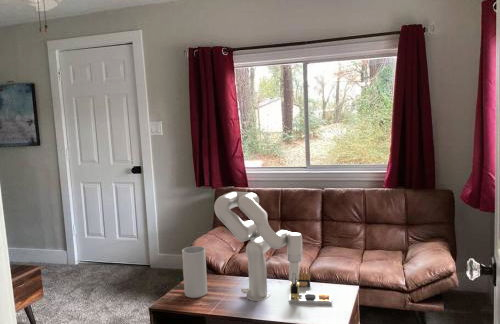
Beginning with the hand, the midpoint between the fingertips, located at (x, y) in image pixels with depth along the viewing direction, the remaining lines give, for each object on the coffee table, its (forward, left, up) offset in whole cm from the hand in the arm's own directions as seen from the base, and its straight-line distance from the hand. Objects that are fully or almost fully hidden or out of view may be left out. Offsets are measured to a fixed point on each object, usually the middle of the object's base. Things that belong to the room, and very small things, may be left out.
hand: (294, 291), depth 220 cm
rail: (+8, 0, -6) cm, 10 cm away
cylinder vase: (-55, +8, -6) cm, 56 cm away
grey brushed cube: (+8, 0, -5) cm, 9 cm away
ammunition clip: (+2, +19, -6) cm, 20 cm away
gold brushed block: (0, 0, -3) cm, 3 cm away
